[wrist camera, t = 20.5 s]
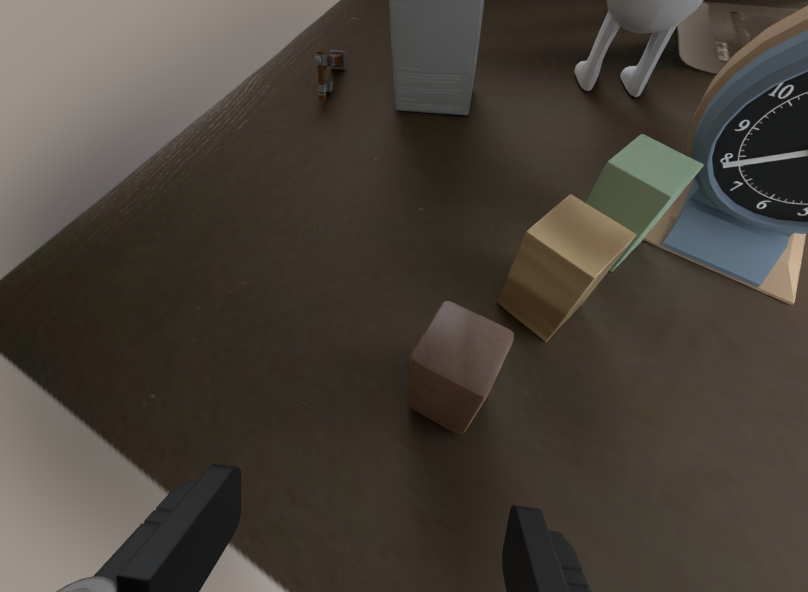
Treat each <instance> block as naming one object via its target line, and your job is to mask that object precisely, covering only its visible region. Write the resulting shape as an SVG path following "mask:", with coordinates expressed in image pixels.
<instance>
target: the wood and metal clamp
mask: <svg viewBox="0 0 808 592" xmlns="http://www.w3.org/2000/svg"><path fill="white" fill-rule="evenodd" d="M314 65H318V92H319V99H322V100H325V99H326V93H325V92H331V91H333V82H332V81H325V71H326V66H330V68H339V69H345V51H336V50H330V56H329V55H324V51H323V50H318V51H317V54H314Z"/></svg>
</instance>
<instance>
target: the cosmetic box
mask: <svg viewBox="0 0 808 592" xmlns="http://www.w3.org/2000/svg"><path fill="white" fill-rule="evenodd" d="M389 7H390V24H391V42H392V60H393V80H394V96H395V110H399V111H414V112H428V113H443V114H457V115H468V114H469V110H470V103H471V96H472V89H473V83H474V75H475V68H476V61H477V54H478V47H479V39H480V31H481V23H482V15H483V8H484V0H389Z"/></svg>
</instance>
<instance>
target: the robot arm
mask: <svg viewBox="0 0 808 592" xmlns="http://www.w3.org/2000/svg"><path fill="white" fill-rule="evenodd" d="M240 514H241V471H240V468H238V467H233V466H225V465H218V464H213V465H211V466H210V467H209V468H208V469H207V470H206V471H205V472H204V474H203V475H202V476H201V477H200V478H199V479H198V481H190V480H189V481H188V482H186V483H184V484H183V485H181V486H180V487H178V488H177V489H175V490H173V491H172V492H170V493H169V495H168V496H167V497H166V498H165V499H164V500H163V501H162V502H161V503H160V504H159V506H158V507H157V508H156V510H155V511H153V512H152V513H151V514H150V515H149V516H148V518H147V519H146V520H145V522H144V524H141V525H140V526H139V527H138V528H137V529H136V530H135V532H134V533H133V534H132V535H131V536H130V537H129V538H128V539H127V540H126V541H125V542H124V544H123V545H122V546H121V547H120V548H119V549H118V550H117V551H116V552H115V553H114V554H113V555H112V557H111V558H110V559H109V560H108V561H107V562H106V563H105V564H104V565H103V567H101V569H100V570H99V571H98V572H97V573H96V574H95V575H94V576H93V577H88V578H84V579H81V580H78V581H75V582H73V583H71V584H69V585H67V586H65V587H63V588H62V589H60V590H58V591H57V592H199V591H200V589H201V588H202V586H203V584H204V583H205V581H206V579H207V578H208V576H209V574H210V573H211V571H212V570H213V568H214V566H215V565H216V563H217V561H218V560H219V558H220V556H221V555H222V553H223V551H224V550H225V548H226V546H227V545H228V543H229V542H230V540H231V538H232V537H233V535H234V533H235V531H236V528H237V526H238V523H239V519H240ZM502 563H503V574H504V580H505V585H506V590H507V592H591V590H589V584H588V582H587V580H586V577H585V575H584V573H582V568H581V565H580V563H579V560H578V558H577V555H576V553H575V551H574V549H573V548H572V547H571V545H570V544H569V543H568V542H567V541H566V539H565V538H564V537H563V536H562V534H561V533H560V532H553V531H548V529H547V526H546V523H545V520H544V517H543V515H542V512H541V510H540V509H537V508H529V507H522V506H515V505H513V506H512V507H511V510H510V515H509V520H508V525H507V530H506V536H505V541H504V546H503V556H502Z"/></svg>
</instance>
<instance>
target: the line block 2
mask: <svg viewBox="0 0 808 592" xmlns="http://www.w3.org/2000/svg"><path fill="white" fill-rule="evenodd" d="M702 167H703V164H702V163H700V162H698V161H696V160H694V159H692V158H690V157H688V156H686V155H684V154H682V153H680V152H678V151H676V150H674V149H672V148H670V147H668V146H666V145H664V144H662V143H660V142H658V141H656V140H654V139H652V138H650V137H648V136H646V135H644V134H640V135H639V136H638V137H637V138H636V139H634V140H633V141H632V142H631V143H630V144H628V145H627V146H626V147H625V148H624V149H622V150H621V151H620V152H619V153H618V154H616V155H615V156H614V157H613V158H612V159H610V160H609V161H608V162H607V163H606V165H605V167H604V169H603V171H602V172H601V174H600V176H599V178H598V180H597V181H596V183H595V185H594V187H593V189H592V191H591V192H590V194H589V196H588V198H587V200H586V201H585V203H586V204H588V205H589V206H591V207H593V208H594V209H596V210H598V211H599V212H601V213H602V214H604V215H606V216H607V217H609V218H611V219H612V220H614V221H616V222H617V223H619V224H621V225H622V226H624V227H625V228H627V229H629V230H630V231H632V232H634V233H635V234H637V235H636V237H635V238H634V239H633V240H632V242H631V243H630V244H629V246H628V247H627V248H626V249H625V251H624V252H623V253H622V254H621V256H620V257H619V258H618V259H617V261H616V262H615V263H614V265H613V266H612V267H611V268H610V270H609V271H610V272H612V271H613V270H614V269H615V268H616V267H617V266H618V265H619V264H620V263H621V262H622V261H623V260H624V259H625V258H626V257H627V256H628V255H629V254H630V253H631V252H632V251H633V250H634V249H635V248H636V247H637V246H638V245H639V244H640V243H641V241H642V240H643V239H644V238H645V236H646V235H647V234H648V233H649V232H650V230H651V229H652V228H653V227H654V226H655V224H656V223H657V222H658V221H659V219H660V218H661V217H662V216H663V215H664V213H665V212H666V211H667V210H668V208H669V207H670V206H671V205H672V204H673V202H674V201H675V200H676V199H677V198H678V196H679V195H680V194H681V193H682V191H683V190H684V189H685V188H686V187H687V185H688V184H689V183H690V182H691V181H692V179H693V178H694V177H695V176H696V174H697V173H698V172H699V171H700V170H701V168H702Z"/></svg>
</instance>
